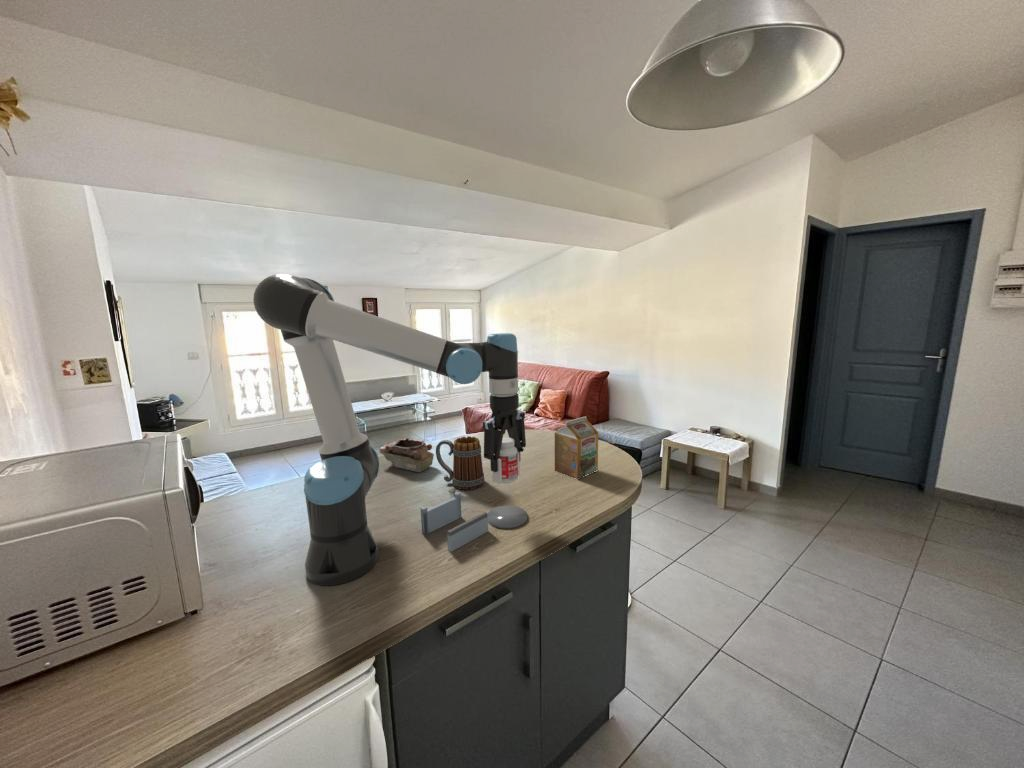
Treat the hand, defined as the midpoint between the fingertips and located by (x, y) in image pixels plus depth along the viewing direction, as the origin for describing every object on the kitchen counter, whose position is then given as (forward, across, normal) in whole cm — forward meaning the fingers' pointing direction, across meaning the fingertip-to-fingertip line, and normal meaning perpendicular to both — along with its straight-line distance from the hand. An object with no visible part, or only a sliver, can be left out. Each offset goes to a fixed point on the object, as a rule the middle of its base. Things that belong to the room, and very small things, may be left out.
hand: (506, 477), depth 105 cm
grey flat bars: (+12, -14, +5) cm, 19 cm away
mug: (+12, +6, +27) cm, 30 cm away
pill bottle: (+1, 0, 0) cm, 1 cm away
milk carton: (+12, +39, +4) cm, 41 cm away
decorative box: (+12, +1, +54) cm, 55 cm away
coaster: (+12, 0, 0) cm, 12 cm away
